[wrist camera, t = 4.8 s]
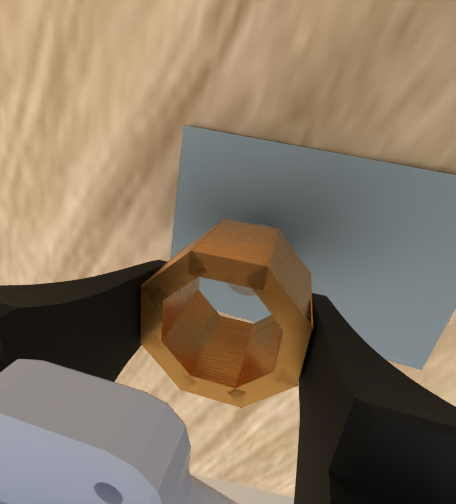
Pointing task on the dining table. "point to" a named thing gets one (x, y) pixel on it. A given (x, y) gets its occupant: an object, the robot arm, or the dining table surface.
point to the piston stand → (331, 232)
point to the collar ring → (226, 329)
